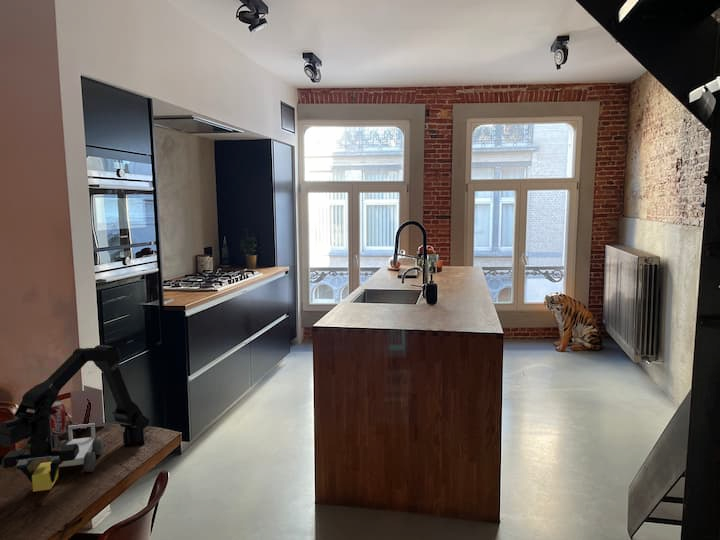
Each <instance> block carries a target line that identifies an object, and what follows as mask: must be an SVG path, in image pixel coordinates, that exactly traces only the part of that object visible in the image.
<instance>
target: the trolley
mask: <svg viewBox="0 0 720 540" xmlns="http://www.w3.org/2000/svg"><path fill="white" fill-rule="evenodd" d="M87 427H91V428H90V433H91V434H90V435H91V436H90V437H81V438H74V435H73V430H77V429H78V428H80V429H88V428H87ZM67 434H68V439H65V440H60V441H59V443H58V444H59V445H58V450H59V449H62V447H63V446H64V445H70V444H77V445H78V446H79V453H78V455H77V456H76V458H75V459H74V460H71V461H63V463H62V464H59V467H58V474H59V473H60V468H63V467H64V468H65V467H73V466H82V465H83V469H84V473H91V472H94V471H95V468H96V456H100V455H101V456H102V455H103V453H102V452H104V438H103V436H96V428H95V423H88V424H78V425H73V424H71V425H68V426H67ZM52 461H53V457H51V458H47V462H52Z"/></svg>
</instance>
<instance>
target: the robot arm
mask: <svg viewBox="0 0 720 540" xmlns="http://www.w3.org/2000/svg"><path fill="white" fill-rule="evenodd" d="M120 354H121V353H120V350H119V349H118V348H117V347H115V346H111V345H104V344H103V345H102V344H98V345H96V346H94V347H86V348H85V347H82V348H81V347H78V348H75V350H73V352H72V354H71V355H70V356H69V357H68V358H67V359H66V360H65V361H64V362H63V363H62V364H61V365H60V366H59V367H58V368H57V369H56V370H55V371H54V372H53V373H52V374H50V376H49V377H48V378H47V379H46V380H44V381H42V382H39V383H38V384H36V385H34V386H33V387H31V388H30V389H29V390H28V391H26V392H25V393H24V394H23V396H22V398H21V399H22V400H21V402H20V404H19V406H18V407H17V409H16V411H15V412H14V415H13V417H14V418H13V419H10V420H5V421H2V422H1V426H0V445H1V446H2V447H4V448H7V447H8V448H9V447H10V446H12V445H16V444H17V443H20V442H22V441H25V440H27V439H28V440H27V445H29V447H28V449H29V452H28V453H27V452H25V450H24V449H18V450H10V451H8V453H7V454H6V455H5V456H4V457H3V458H2V459H1V460H2V461H1V468H2V469H9V468H15V470H20V472H22V473H23V474H24V475H25V476H26V478H27V479H28V480H29V482H30V483H31V484H32V474H33V473H34V472H35V466H34V465H35V464H34V462H35V460H39V459H40V460H41V459H49V458H51V457H53V461H52V462H51V464H50V468H51V481H52V482H54V480H55V477H56V473H57V470H58V467H59V464H62V463H63V461H71V460H74V459H75V458H76V456H77V455H78V453H79V446H78V445H77V444H70V445H64V446H63V447H62V449H59V448H58V449H56V447H57V446H59V445H58V444H59V443H58V442H59V436H58V434H56V435H53V432H52V431H51V419H50V415H53V414H55V413H57V410H54V409H53V408H52V407H51V406H52V405H53V404H54V402H55V401H58V400H57V399H58V398H59V394H60V391H61V390H62V388H64V386H66V384H67V383H69V381H70V380H71V379H72V378H73V377H75V375H76V374H77V373H78V372H79V371H80V370H81V369H82V368H83V367H84V366H85V365H86V364H87V363H88V362H93V363H94V365H95V366H96V367H97V368H98V369H99V370H101V372H102V373H103V375H104V378H105V380H106V382H107V384H108V387H109V390H110V392H111V394H112V398H113V400H114V402H115V405H116V407H115V410H114V411H113V412H112V414H111V415H112V416H113V417H114V422H116V423H118V424H119V426H120V428H124V430H123V432H122V438H123V440H122V441H123V444H124V448H132V447H139V446H144V445H145V442H146V441H147V436H146V428H147V427H148V426H149V424H150V419H149V418H148V417H147V416H145V415H144V414H143V411H142V409H141V408H140V406H139V405H137V404H136V403H135V402H134V401H133V400H132V398H131V395H130V393H129V390H128V387H127V385H126V382H125V380H124V377H123V375H122V374H123V373H122V371H121V370H120V364H121V360H122V359H121V355H120ZM28 410H30V411H31V412H30V411H28ZM32 411H34V412H32ZM15 466H16V467H15Z"/></svg>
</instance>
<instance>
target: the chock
mask: <svg viewBox="0 0 720 540" xmlns="http://www.w3.org/2000/svg"><path fill="white" fill-rule="evenodd" d="M50 464H51V462H48V461H47V462H45V461H44V462H40V464H39V465H38V467H37V468H36V469H34V471H35V472H34V473H33V474H32V483H31V484H32V492H41V491H48V490H51V489H52V488H53V486H54V484H55V483H56V481H57V480H58V479H59V477H60V476H59V473H58V470H57V473H56V477H55V480H54V482H52V481H51V468H50Z"/></svg>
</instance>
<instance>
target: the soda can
mask: <svg viewBox="0 0 720 540" xmlns="http://www.w3.org/2000/svg"><path fill="white" fill-rule="evenodd" d="M51 407H52V408H53V409H54V410H57V413H55V414H53V415H50V419H51V431H52V432H53V435H56V434H58V437H60V436H63V435H64V433H66V432H67V419H66V417H67V416H66V407H65V404H64V402H63V400H62V401H61V400H56V401H55V402H54V404H53V405H52V406H51Z"/></svg>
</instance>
